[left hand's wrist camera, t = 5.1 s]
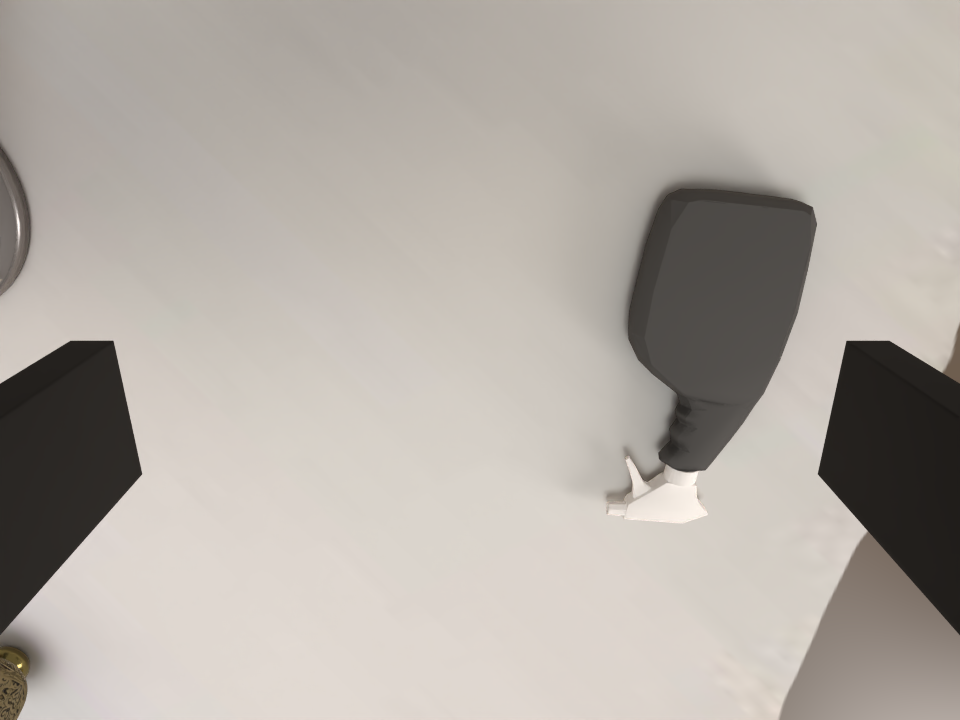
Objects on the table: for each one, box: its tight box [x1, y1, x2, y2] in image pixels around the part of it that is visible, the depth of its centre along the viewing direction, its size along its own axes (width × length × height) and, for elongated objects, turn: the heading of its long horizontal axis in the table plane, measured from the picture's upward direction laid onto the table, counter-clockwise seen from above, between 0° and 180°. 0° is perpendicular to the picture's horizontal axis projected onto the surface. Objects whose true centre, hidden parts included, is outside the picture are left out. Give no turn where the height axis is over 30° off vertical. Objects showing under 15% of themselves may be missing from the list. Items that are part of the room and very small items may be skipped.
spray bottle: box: [606, 189, 817, 523], centre depth 47 cm, size 3×11×24 cm
